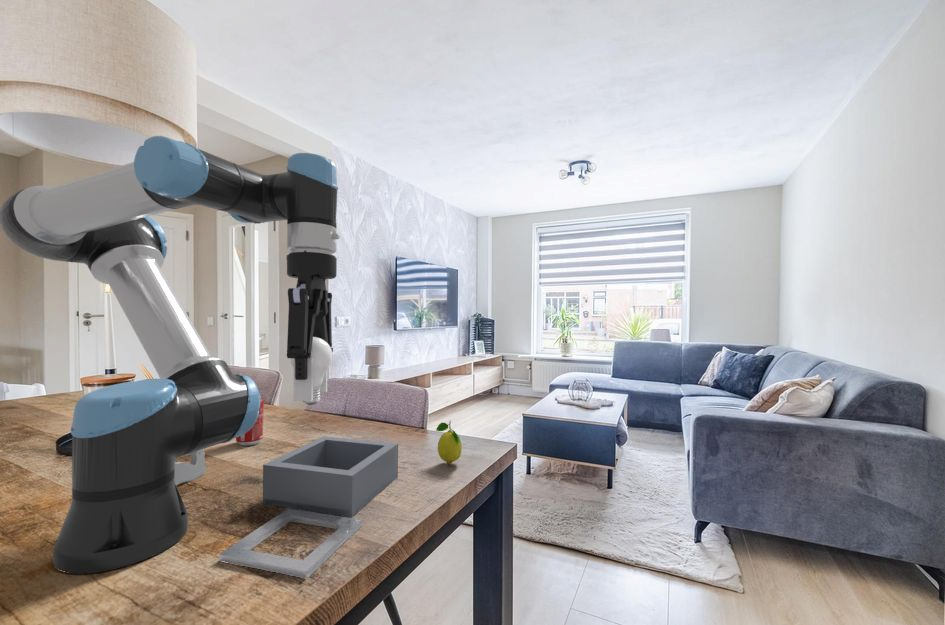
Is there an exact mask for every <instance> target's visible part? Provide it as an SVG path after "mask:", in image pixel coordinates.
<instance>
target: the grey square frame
mask: <svg viewBox="0 0 945 625" xmlns="http://www.w3.org/2000/svg"><path fill="white" fill-rule="evenodd" d="M290 522H291V523H298V524H304V525H309V526H317V527H323V528H329V529H333V530H334V529H335V531H334V532H333V533H332V534H331V535H329V537H327V539H326V540H324V541H323V542H322V543H321V544H320V545H318V546H317V547H316V548H315V549H314V550H313V551H312V552H310V554H308V555H307V556H306V557H305V558H303V559H298V558H293V557H290V556H282V555H278V554H277V555H276V554H271V553H267V552H263V551H256V550H252V549H254V548H255V547H256V546H258V545H259V544H261V543H262V542H264V541H265V540H266V539H268V538H269V537H270V536H272V535H274V534H275V533H277V531H280V530H281V529H282V528H283V527H285V526H286V525H287V524H289V523H290ZM362 526H363V519H362V518H354V517H346V516H340V515H333V514H327V513H320V512H313V511H307V510H300V509H294V508H286V509H285V510H284V511H282V512H281V513H279V514H278V515H276V516H274V517H273V518H272V519H270V520H269V521H267V522H266V523H264V524H263V525H261V526H260V527H258V528H257V529H255V530H253V531H252V532H250V533H249V534H247V535H246V536H245V537H243V538H241V539H240V540H237V542H235V543H234V544H232V545H231V546H229V547H228V548H226V549H225V550H223V551H222V552H220V553H219V554H218V562H219V561H225V562H228V563H233V564H238V565H242V566H247V567H253V568H257V569H262V570H267V571H271V572H270V573H272V572H276V573H275V574H277V573H282V574H287V575H290V576H289V577H292V576H291V575H293V576H296V577H295V578H297V576H298V577H300V578H299V579H302V578H307V577H308V578H309V577H311V575H313V573H315V571H317V569H319V568H320V567H321V566H322V565H323V564H324V563H325V562H326V561H327V560H328V559H329V558H330V557H331V556H333V554H334V553H336V551H337V550H338V549H339V548H340V547H342V546H343V544H345V543H346V542H347V541H348V540H349V539H350V538H351V537H352V536H353V535H354V534H355V533H356V532H357V531H358V530H359V529H360V528H361V527H362ZM242 566H241V567H242ZM247 567H246V568H247ZM257 569H256V570H257ZM262 570H261V571H262ZM267 571H266V572H267ZM282 574H281V575H282ZM287 575H286V576H287ZM301 577H302V578H301ZM308 578H307V579H308Z"/></svg>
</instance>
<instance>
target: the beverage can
mask: <svg viewBox="0 0 945 625" xmlns="http://www.w3.org/2000/svg"><path fill="white" fill-rule="evenodd" d="M264 405H265V404H264V400H263V399H262V396H261V395H260V408H259V414H258V418H257V420H256V422H255V424H254V425H253V427H252V428H251V429H250V430H249V431H248V432H247V433H245V434H243V435H241V436H239V437H236V438H235V441H236V442H237V443H238V444H239V445H240V446H243V447H244V446H245V447H248V446H253V445H257V444H259V443H260V442H261V441H262V440H263V439H264V412H265V410H264Z"/></svg>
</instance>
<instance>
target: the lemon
mask: <svg viewBox="0 0 945 625" xmlns="http://www.w3.org/2000/svg"><path fill="white" fill-rule="evenodd" d="M448 429H449V430H448ZM447 430H448V431H447ZM435 431H437V432H443V434H442V435H441V436H440V437H439V439H438V444H437V453H438V456H439V457H440V459H441V460H442V461H443V462H446V464H448V465H452V463H454V462H456V461H458V460H459V458H461V455H462V450H463V449H462V447H463V446H462V441H461V439H460V436H459V434H458V433H457V432H456V431H454V430H453V429H452V428H451V420H449V422H448V423H446V422H440V423H439V424H438V426H437V427H436V429H435ZM444 431H446V432H444Z"/></svg>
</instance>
